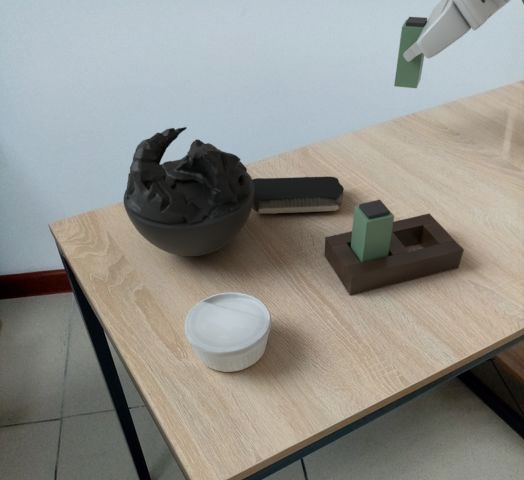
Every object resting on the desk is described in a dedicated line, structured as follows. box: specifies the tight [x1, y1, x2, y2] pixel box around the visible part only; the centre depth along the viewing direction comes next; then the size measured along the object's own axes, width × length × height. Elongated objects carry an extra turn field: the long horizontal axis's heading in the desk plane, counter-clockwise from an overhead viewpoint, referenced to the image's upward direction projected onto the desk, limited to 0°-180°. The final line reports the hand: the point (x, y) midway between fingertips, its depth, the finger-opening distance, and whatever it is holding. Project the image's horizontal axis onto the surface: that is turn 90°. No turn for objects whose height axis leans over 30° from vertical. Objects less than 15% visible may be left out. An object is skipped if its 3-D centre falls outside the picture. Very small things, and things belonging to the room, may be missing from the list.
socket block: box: [323, 213, 464, 296], centre depth 81 cm, size 10×18×4 cm, turn 107°
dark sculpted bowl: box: [123, 126, 254, 257], centre depth 81 cm, size 20×20×19 cm
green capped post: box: [393, 16, 428, 89], centre depth 97 cm, size 4×4×11 cm
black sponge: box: [252, 176, 345, 215], centre depth 93 cm, size 16×8×4 cm, turn 89°
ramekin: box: [184, 291, 272, 373], centre depth 70 cm, size 11×11×5 cm
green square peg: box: [351, 199, 395, 263], centre depth 78 cm, size 4×4×11 cm
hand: (408, 52), depth 97 cm, fingers closed on green capped post, 4 cm apart
